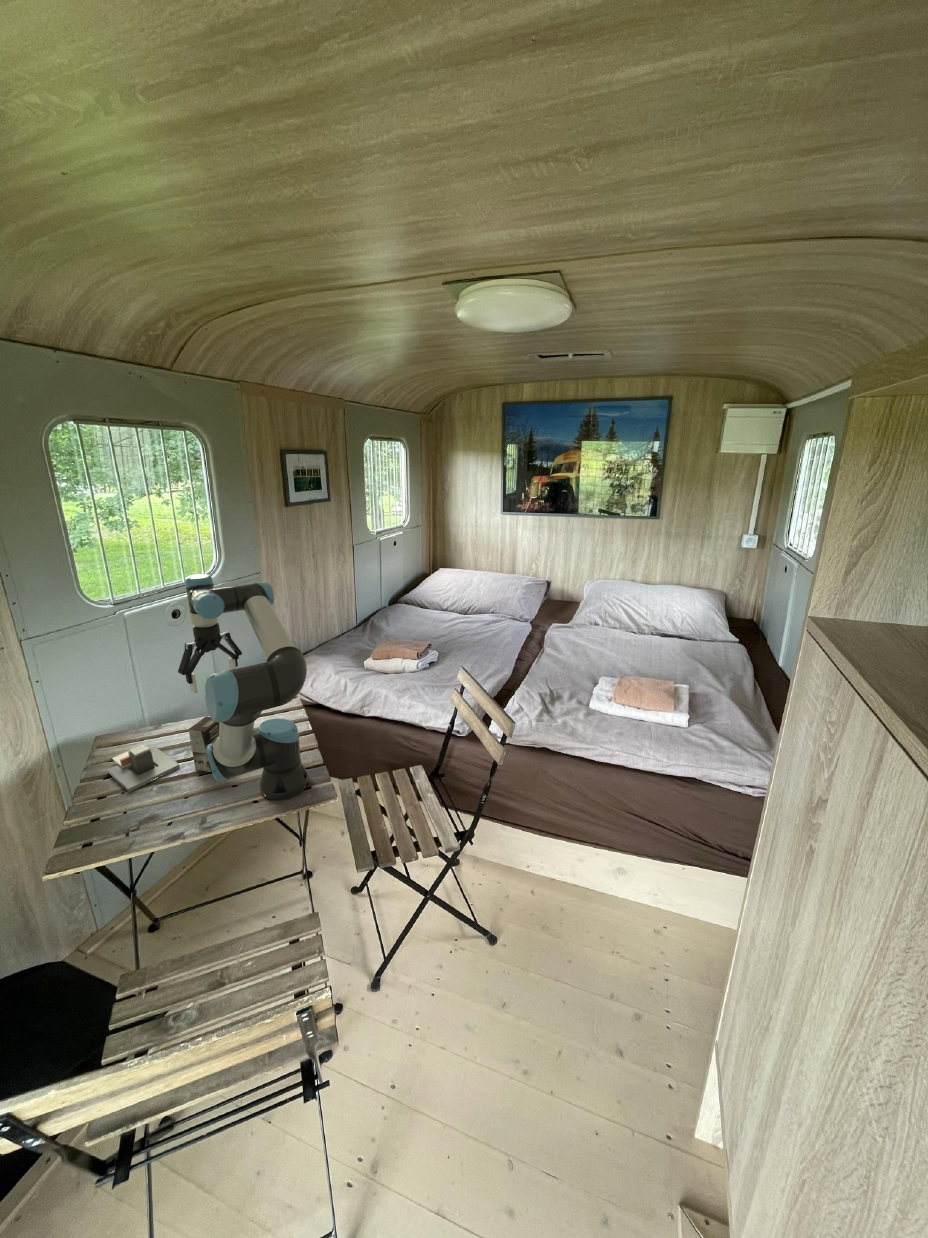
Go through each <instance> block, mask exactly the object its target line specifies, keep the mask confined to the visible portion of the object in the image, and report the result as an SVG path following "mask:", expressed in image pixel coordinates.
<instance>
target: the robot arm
mask: <svg viewBox="0 0 928 1238" xmlns="http://www.w3.org/2000/svg"><path fill="white" fill-rule="evenodd" d="M184 583H185V587H184V588H185V590H186V595H187V601H188V607H189V614H190V619H191V624H192V633H193V637H194V641H193V642H187V641H186V642H185V643H184V650H183V654H182V657H181V660H180V663H179V668H178V670H177V673H178V674H180V675H182V676H185V681H186V683H187V684H189V687H190V688H189V689H190V692H192V693H195V694H196V693H198V691H199V690H198V684H197V678H196V673H194V670H195V668H196V667H197V666H198V664H199V663H200V660H201V659H202V656H204V655H205V654H206V653H211V651H215V650H217V649H219V650H220V651H222V652H223V653H225V654H227V656H229V657H228V658H227V659H228V660H227V661H228V665H229V669H224V670H221V671H219V672H215V673H212V674H210V675H209V676H208V677H207V678H206V681H205V686H204V692H205V696H204V697H205V698H204V699H205V702H206V703H205V705H206V708H207V709H206V710H207V712H208V716H209V717H210V718H211V719H212V720H213V721H214V722H220V724H219V737H218V738H217V739H216V741H215V742H213V743H211V744H209V745H207V747H206V751H207V756H208V760H209V763H210V767H211V770H212V771H211V773H212V776H213V778H214V780H215V781H216V782H222V781H229V780H230V779H232V778H235V777H238V776H241V775H245V774H248V773H250V772H254V771H257V770H260V769H262V772H261V777H260V780H259V790H260V791H261V792H262V793H263V794H265V795H266V797H265V798H266V799H268V800H271V801H284V800H288V799H292V798H294V797H297V796H298V795H300V794H301V793H302V792H304V790H305V789H304V787H305V786H306V784H307V782H308V783H309V775H308V772H307V770H306V768H305V767H304V764H303V762H302V759H301V749H300V734H299V731H298V725H296V723H294V722H293V721H292V720H289V719H286V718H279V717H278V718H276V717H275V718H271V719H266V720H264V721H263V722H261V723H260V724H259V725H258V728H257V730H255V731H254V727H255V721H257V720H258V718H259V717H260V715H261V714H262V713H263V711H267V710H271V709H274V708H279V707H282V706H284V705H287V704H289V703H290V702H292V701H293V700H295V698H296V697H298V695H299V694H300V692H301V691H302V689H303V688H304V685H305V683H306V679H307V674H308V673H307V672H308V671H307V670H308V668H307V661H306V659H305V657H304V653H302V651H301V649H299V648H298V647H297V646H294V644H293V642H292V640H291V639H290V636H289V635H288V633H287V631H286V629H285V627H284V626H283V624H282V622H281V621H280V618H279V617H278V615H277V612H276V610H275V609H274V607H273V605H274V603H275V602H274V601H275V596H274V595H275V594H274V590H273V587H272V585H271V584H269V583H268V582H254V583H250V584H242V585H241V584H240V585H235V586H226V587H219V588H218V587H217V588H214V581H213V578H212V576H211V575H210V574H207V573H197V574H191V575H189V576H186V577H185V579H184ZM238 611H239V612H240V611H244V612H245V614H246V616H247V617H246V618H247V619H248V621H249V622H250V625H251V628H252V630H253V631H254V633H255V635H256V638H257V640H258V643H259V645H260V647H261V649H262V651H263V652H264V653H263V654H264V656H265V657H266V661H265V662H260V663H257V664H252V665H246V666H241V667H238V665H239V663H238V659H240V656H242V655H243V652H242V650H241V649H240V648H239V646H238V645H237V644H236V642H235V641H234V639H233V638H232V637H231V633H230V632H228V631H226V630H223V631H222V633H221V629H220V623H219V617H221V615H222V614H226V613H233V612H234V613H235V612H238ZM222 639H223V640H225V642H226V644H228V646H229V647H230V649H231V650H232V651H231V650H230V649H229V648H227V647H226V646H225V645H224V644H222V643H221V641H222ZM193 650H194V653H193ZM237 667H238V668H237ZM303 789H304V790H303ZM261 792H260V793H261Z"/></svg>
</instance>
